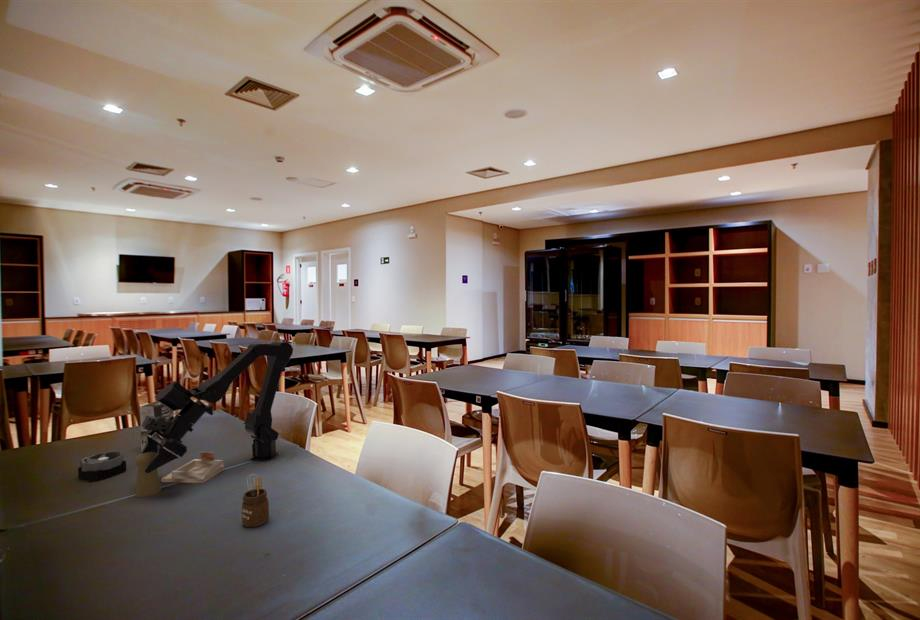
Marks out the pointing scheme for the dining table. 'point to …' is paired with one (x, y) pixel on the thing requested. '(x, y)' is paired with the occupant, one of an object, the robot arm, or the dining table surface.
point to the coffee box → (155, 411)
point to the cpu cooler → (101, 466)
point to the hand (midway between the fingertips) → (141, 467)
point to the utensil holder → (255, 505)
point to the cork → (146, 476)
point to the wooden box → (196, 470)
